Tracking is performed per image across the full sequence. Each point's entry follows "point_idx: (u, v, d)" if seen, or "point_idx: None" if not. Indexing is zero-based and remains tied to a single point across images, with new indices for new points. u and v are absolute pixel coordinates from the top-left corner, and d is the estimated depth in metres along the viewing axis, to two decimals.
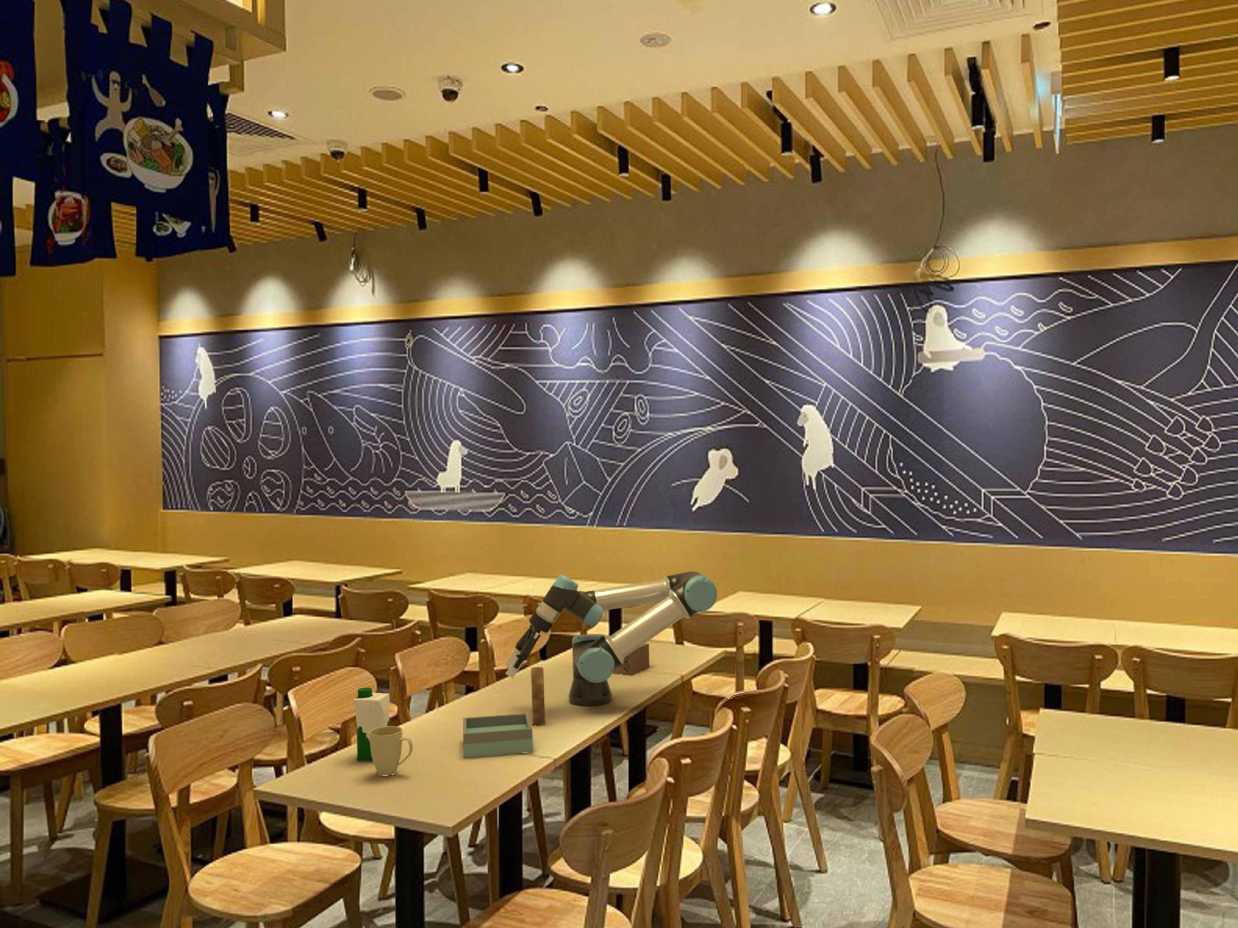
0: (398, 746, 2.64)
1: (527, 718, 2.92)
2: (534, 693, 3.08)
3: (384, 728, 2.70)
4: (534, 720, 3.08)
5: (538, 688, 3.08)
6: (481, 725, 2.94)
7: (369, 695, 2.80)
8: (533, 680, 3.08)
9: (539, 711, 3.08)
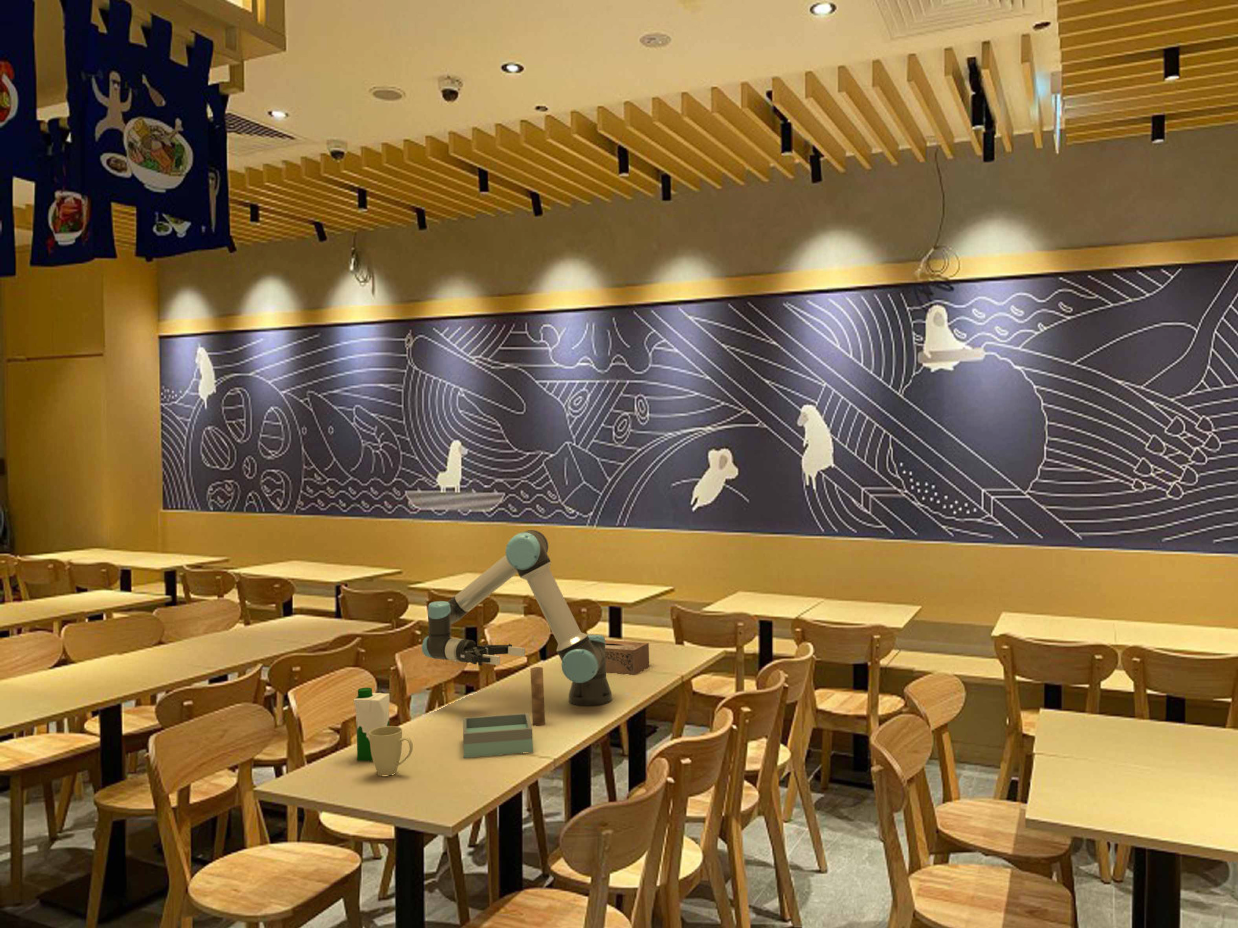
0: (398, 746, 2.64)
1: (527, 718, 2.92)
2: (533, 693, 3.08)
3: (384, 728, 2.70)
4: (534, 720, 3.08)
5: (538, 688, 3.08)
6: (481, 725, 2.94)
7: (369, 695, 2.80)
8: (533, 680, 3.08)
9: (539, 711, 3.08)
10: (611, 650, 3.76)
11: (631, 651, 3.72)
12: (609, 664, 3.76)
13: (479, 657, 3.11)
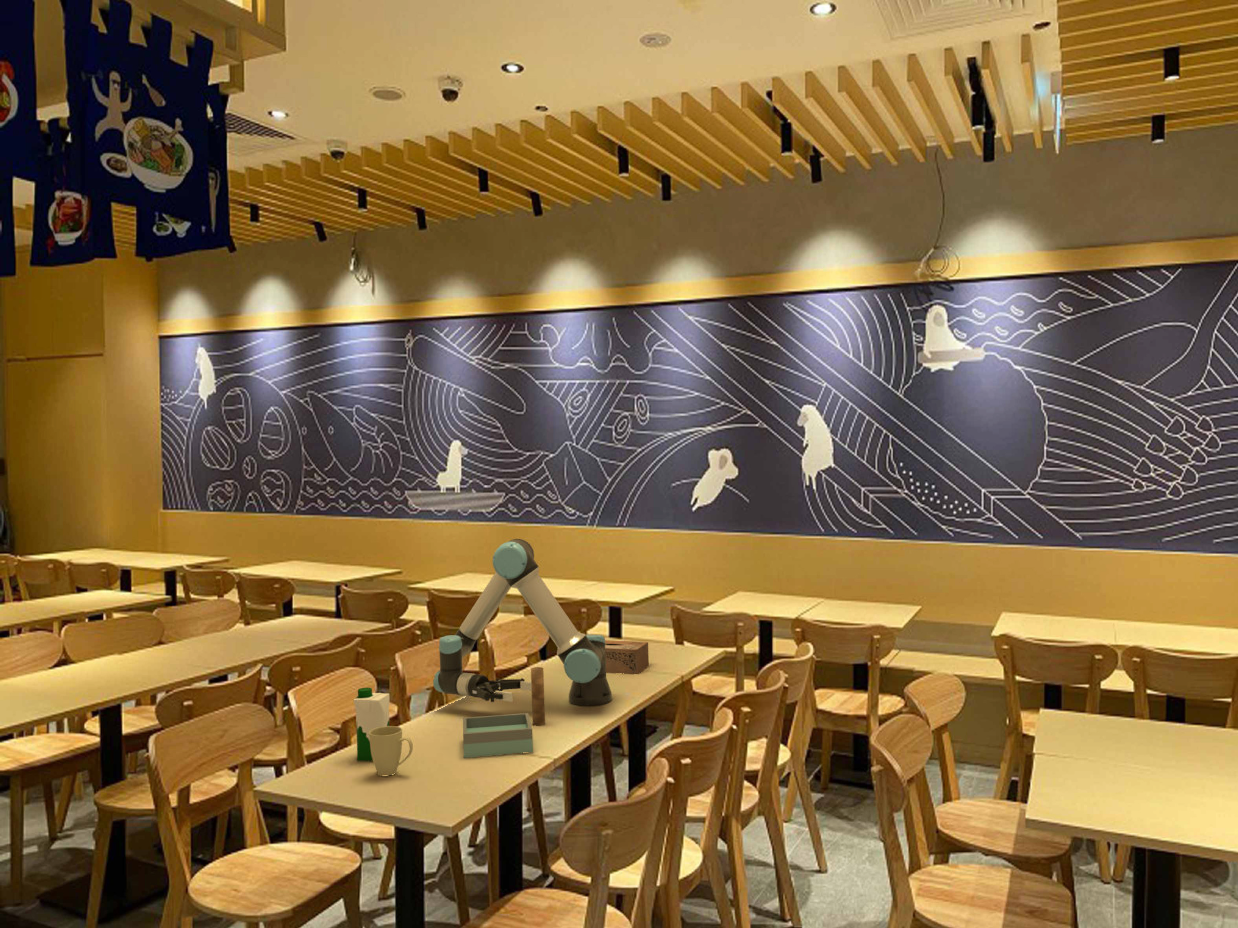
0: (398, 746, 2.64)
1: (527, 718, 2.92)
2: (534, 693, 3.08)
3: (384, 728, 2.70)
4: (534, 720, 3.08)
5: (538, 688, 3.08)
6: (481, 725, 2.94)
7: (369, 695, 2.80)
8: (533, 680, 3.08)
9: (539, 711, 3.08)
10: (613, 650, 3.76)
11: (634, 650, 3.73)
12: (611, 664, 3.76)
13: (491, 693, 3.08)
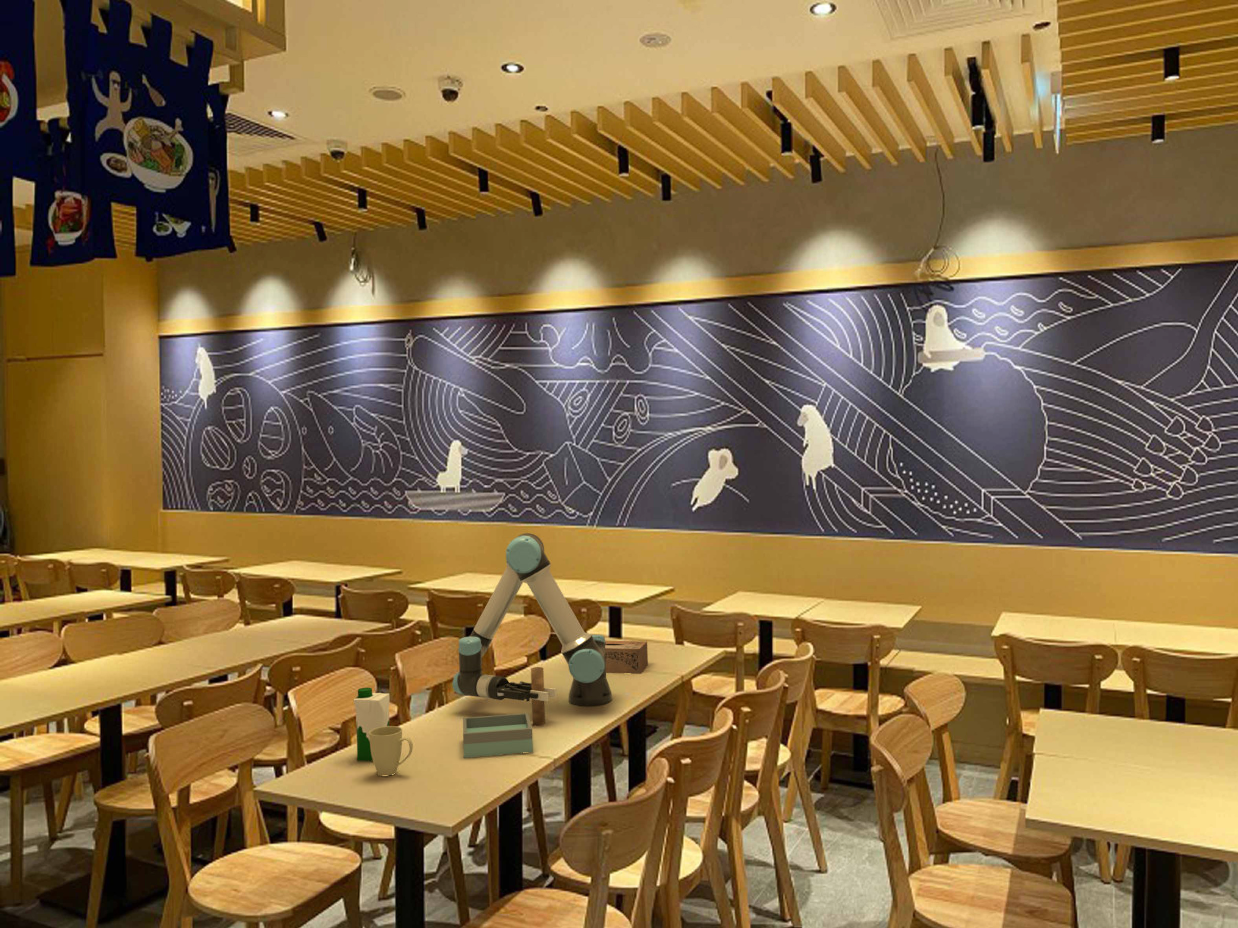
0: (398, 746, 2.64)
1: (527, 718, 2.92)
2: None
3: (384, 728, 2.70)
4: (534, 720, 3.08)
5: (538, 688, 3.08)
6: (481, 725, 2.94)
7: (369, 695, 2.80)
8: (533, 680, 3.08)
9: (539, 711, 3.08)
10: (615, 650, 3.76)
11: (637, 650, 3.74)
12: (613, 664, 3.76)
13: (527, 693, 3.07)
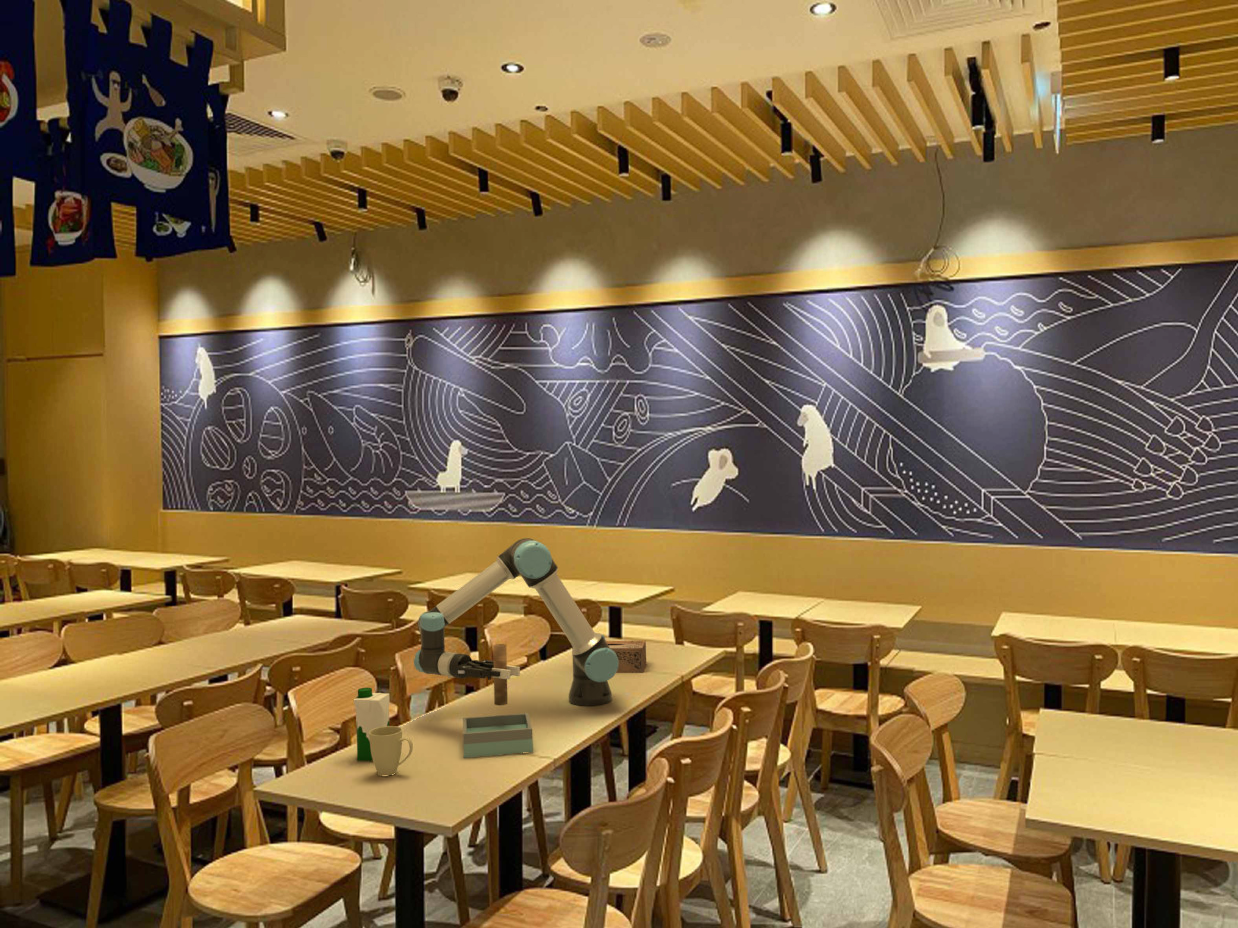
0: (398, 746, 2.64)
1: (527, 718, 2.92)
2: None
3: (384, 728, 2.70)
4: (496, 700, 2.93)
5: (500, 665, 2.93)
6: (481, 725, 2.94)
7: (369, 695, 2.80)
8: (495, 657, 2.93)
9: (501, 690, 2.93)
10: (617, 650, 3.76)
11: (639, 649, 3.75)
12: None
13: (488, 671, 2.92)
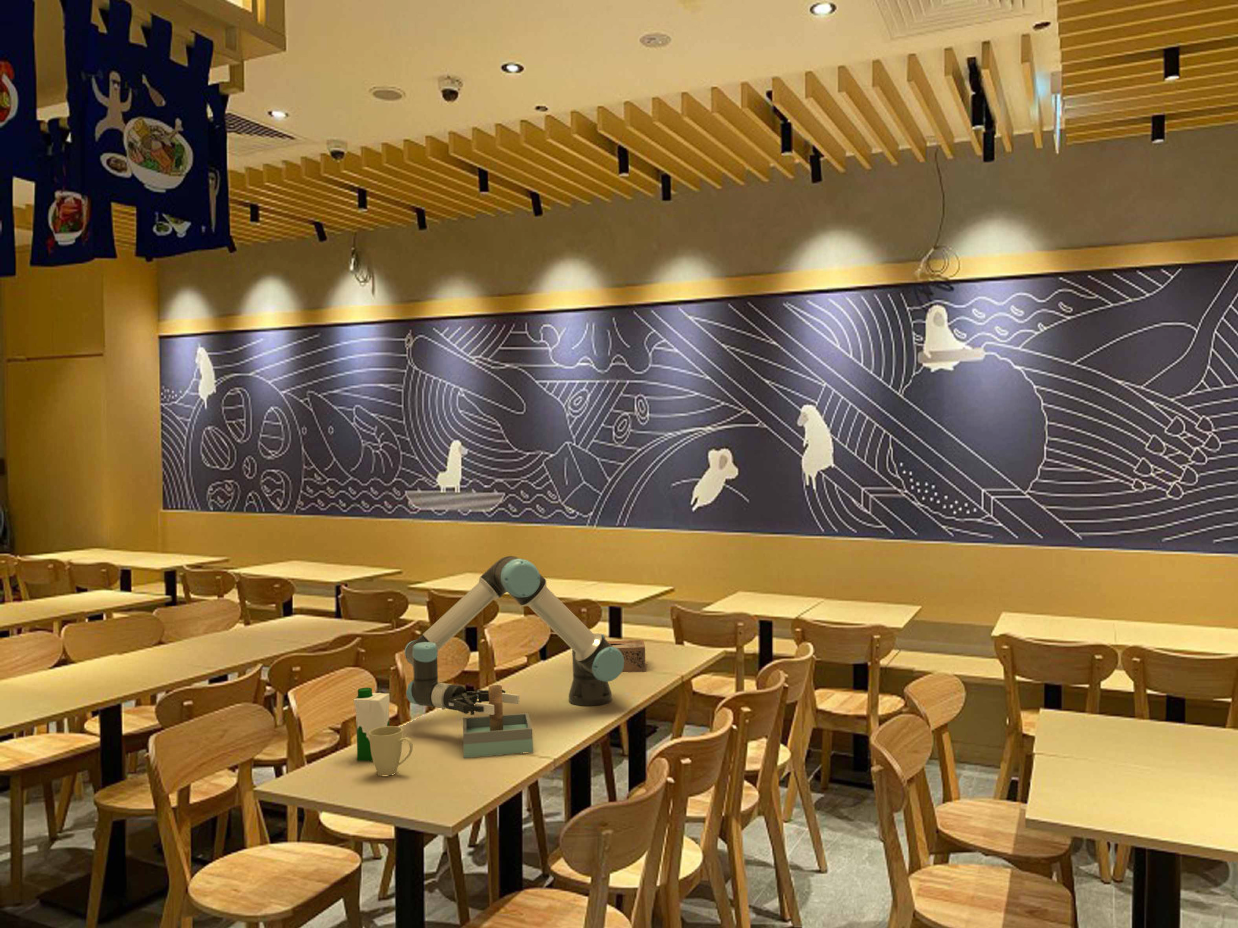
0: (398, 746, 2.64)
1: (527, 718, 2.92)
2: None
3: (384, 728, 2.70)
4: None
5: (496, 707, 2.86)
6: (481, 725, 2.94)
7: (369, 695, 2.80)
8: (491, 699, 2.86)
9: None
10: (620, 649, 3.76)
11: (642, 648, 3.77)
12: None
13: (471, 706, 2.83)
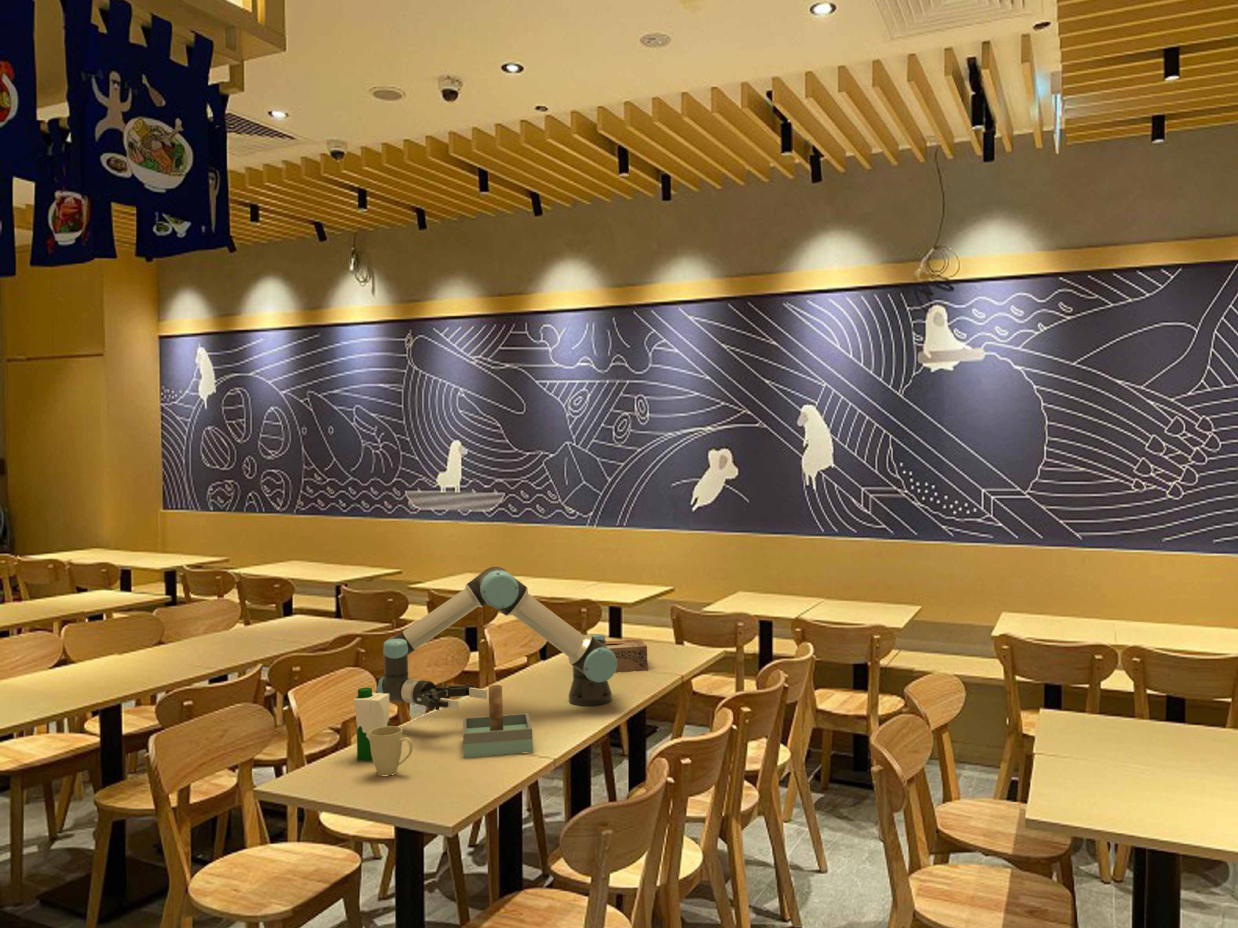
0: (398, 746, 2.64)
1: (527, 718, 2.92)
2: (491, 714, 2.86)
3: (384, 728, 2.70)
4: None
5: (496, 707, 2.86)
6: (481, 725, 2.94)
7: (369, 695, 2.80)
8: (491, 699, 2.86)
9: None
10: (622, 649, 3.77)
11: (644, 647, 3.78)
12: (620, 663, 3.77)
13: (436, 701, 2.89)
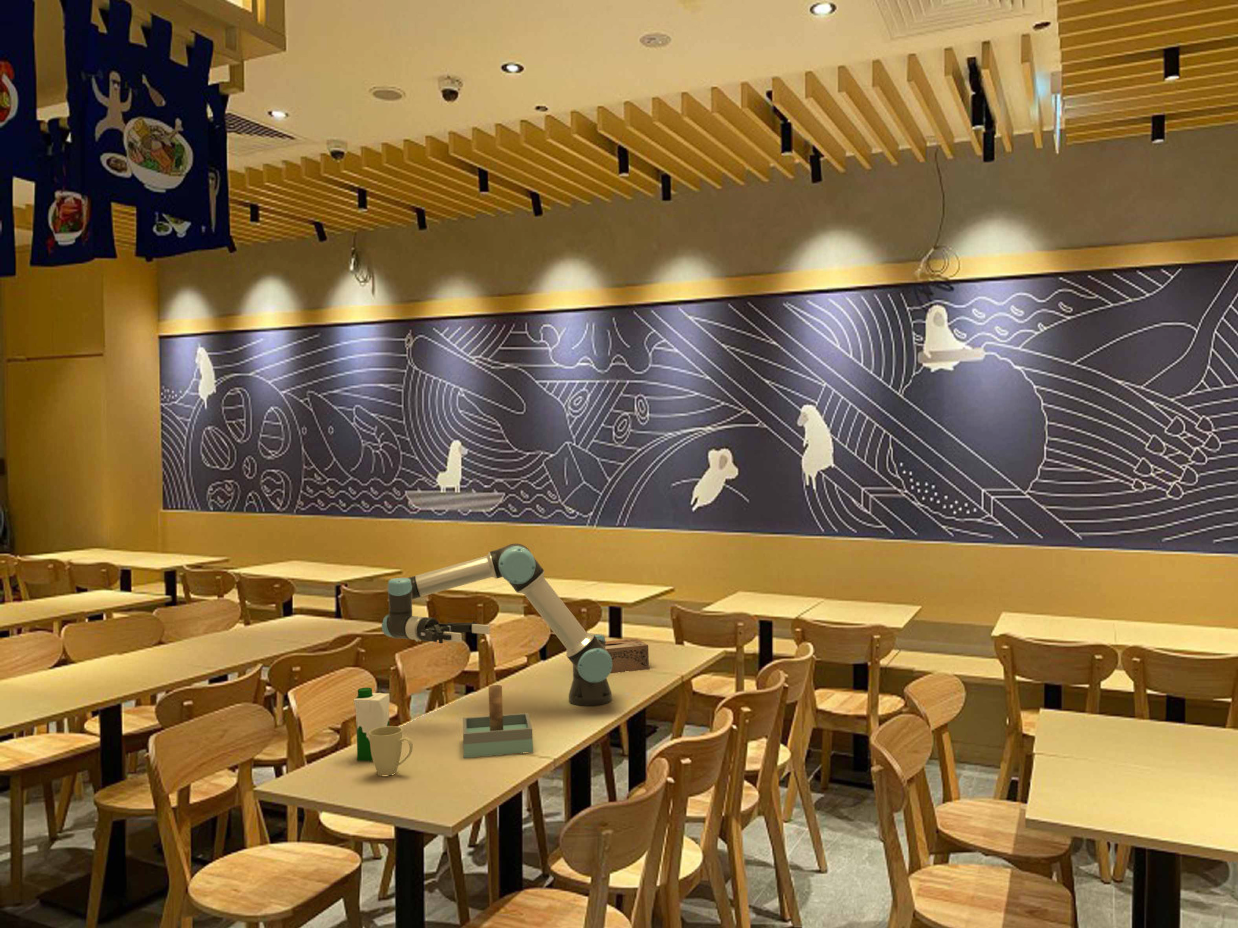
0: (398, 746, 2.64)
1: (527, 718, 2.92)
2: (491, 714, 2.86)
3: (384, 728, 2.70)
4: None
5: (496, 707, 2.86)
6: (481, 725, 2.94)
7: (369, 695, 2.80)
8: (491, 699, 2.86)
9: None
10: (625, 649, 3.77)
11: (645, 646, 3.80)
12: (622, 663, 3.77)
13: (440, 634, 2.94)
